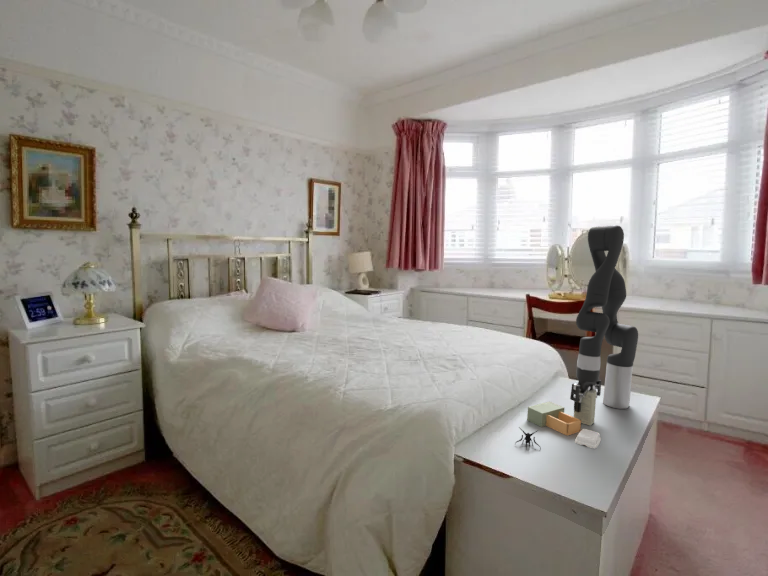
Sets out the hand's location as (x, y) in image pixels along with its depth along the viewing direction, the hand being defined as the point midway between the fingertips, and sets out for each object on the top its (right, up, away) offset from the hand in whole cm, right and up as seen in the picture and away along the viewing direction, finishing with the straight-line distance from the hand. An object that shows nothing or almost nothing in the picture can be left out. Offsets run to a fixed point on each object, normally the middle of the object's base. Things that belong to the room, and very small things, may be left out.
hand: (584, 409), depth 155 cm
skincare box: (0, -5, +1) cm, 5 cm away
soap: (-6, -7, -14) cm, 17 cm away
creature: (-27, -7, -20) cm, 34 cm away
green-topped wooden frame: (-12, -5, -3) cm, 13 cm away
